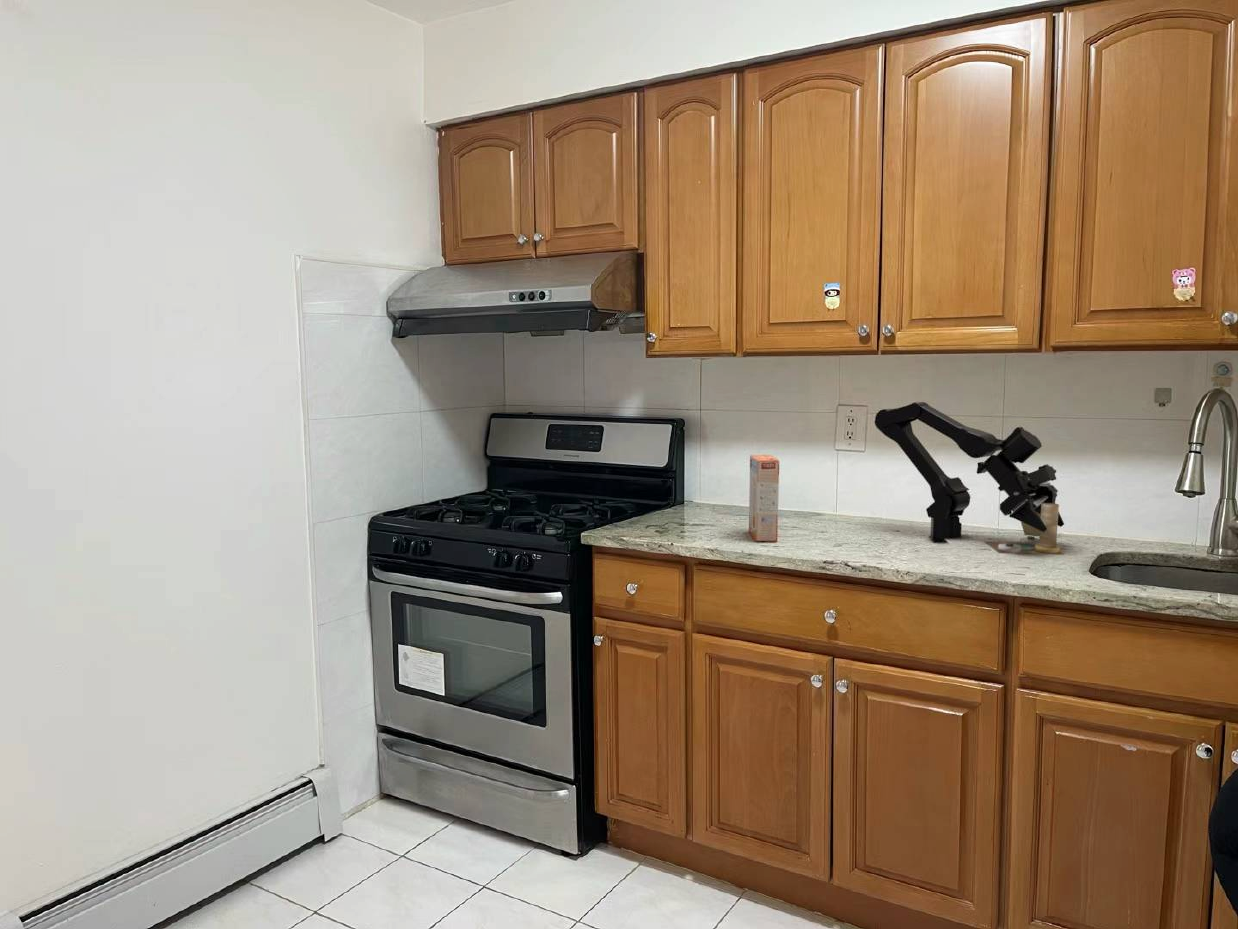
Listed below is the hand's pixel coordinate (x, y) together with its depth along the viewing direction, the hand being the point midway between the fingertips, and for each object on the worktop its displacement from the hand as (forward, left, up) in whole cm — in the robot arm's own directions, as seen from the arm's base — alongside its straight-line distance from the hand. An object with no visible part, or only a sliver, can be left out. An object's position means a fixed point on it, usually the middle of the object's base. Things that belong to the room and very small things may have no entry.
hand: (1054, 528), depth 203 cm
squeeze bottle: (+4, +23, -7) cm, 24 cm away
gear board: (-5, +5, -7) cm, 10 cm away
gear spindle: (-1, +1, -6) cm, 6 cm away
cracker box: (-65, +17, -7) cm, 68 cm away
